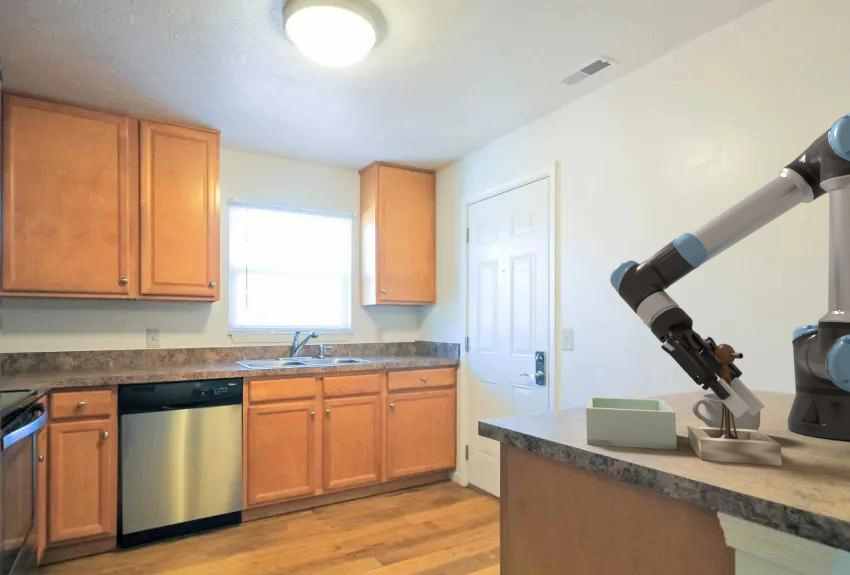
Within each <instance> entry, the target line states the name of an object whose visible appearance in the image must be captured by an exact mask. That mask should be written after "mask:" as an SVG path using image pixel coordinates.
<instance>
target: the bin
mask: <svg viewBox="0 0 850 575" xmlns="http://www.w3.org/2000/svg"><path fill="white" fill-rule="evenodd" d="M585 407H586V408H585V411H586V412H585V413H586V444H587V445H594V446H595V445H597V446H612V447H625V448H636V449H638V448H639V449H651V450H653V449H654V450H667V451H677V450H678V449H677V448H678V446H677V425H676V411H675V410H674V409H673V408H672V407H671V406H670V405H669V404H668V402H666V401H665V400H664V399H648V398H647V399H646V398H627V397H625V398H623V397H622V398H621V397H620V398H619V397H599V396H597V397H596V396H594V397H593V396H587V397H586V406H585Z"/></svg>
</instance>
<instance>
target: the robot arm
mask: <svg viewBox="0 0 850 575" xmlns="http://www.w3.org/2000/svg"><path fill="white" fill-rule="evenodd" d="M827 193H828V194H829V195H828V196H829V202H828V205H829V207H828V209H829V210H828V212H829V214H828V283H827V284H828V285H827V286H828V290H827V292H828V293H827V294H828V298H827V299H828V300H827V304H828V305H827V312H826V313H825V314H824V315H823V316H822V317H820V318H819V319H818V321H817V323H816V324H806V325H801V326H797V327H796V328H795V329H794V330H793V331H792V340H791V345H792V349H793V368H794V384H795V385H794V386H795V395H794V399H793V401H792V405H791V406H790V407H791V408H790V410H789V413H788V417H787V429H788V430H789V431H791V432H794V433H798V434H801V435H805V436H811V437H817V438H818V437H819V438H824V439H833V440H841V441H842V440H843V441H850V112H848V113H847V114H845V115H843V116H841V117H840V118H838V119H837V120H835V121H834V122H833V123H832V124H831V126H830V127H829V128H828V129H827V130H826V131H825V132H824V133H822V134H820V136H818V138H816V139H815V140H814V141H813V142H812V143H811V144H810V145H809V146H808V147H806V149H805V150H803V152H802V153H801V154H800V155H799V156H797V157H796V158H794V160H792V161H791V162H790V163H788V164H787V165H785V166H784V167H782V168H781V169H780V170H779V172H778V176H777V177H775V178H774V179H772V180H770V181H769V182H768V183H766V184H764V185H763V186H761V187H760V188H758V189H756V190H755V191H754V192H752V193H751V194H749V195H748V196H746V197H744V198H743V199H741V200H740V201H738V202H737V203H736V204H734V205H732V206H731V207H729V208H728V209H726V210H725V211H723V212H722V213H720V214H719V215H717V216H715V217H714V218H713V219H711V220H709V221H708V222H706V223H705V224H703V225H702V226H700V227H699V228H697V229H696V230H694V231H692V232H684V233H682V234H681V235H679V236H677V237H676V238H673V239H672V240H671V241H670V242H669V243H668V244H666V245H665V246H664V247H662V248H661V249H660V250H658V251H657V252H655V253H654V254H653V255H651V256H650V257H649V258H647V259H646V260H644V261H642V262H641V263H638V262H637V261H636V260H626V261H625V262H621V263H620V264H618V265H617V266H616V267H615V268H614V269H613V271H612V272H611V274H610V277H609V278H610V279H609V280H610V284H611V286H612V287H613V289H614V290H615V291H616V293H617V294H618V295H619V297H621V299H623V301H624V302H625V303H626V304H627V305H628V306H629V308H630V309H632V311H633V312H634V313H635V314H636V315H637V316H638V317H639V319H641V321H642V323H643V325H646V326H647V328H648V329H650V331H651V333H652V334H653V335H654V336H655V337H656V339H657V340H658V341H659V342H660V343H662V345H661V346H660V348H661V349H662V350H663V351H664V352H665V353H667V354H668V355H669V356H670V357H671V358H672V359H673V360H674V361H675V362H676V363H677V364H678V366H680V368H681V369H682V370H683V371H684V372H685V373H686V374H687V376H689V377H690V378H691V379H692V381H693V382H694V383H696V384H697V386H701V389H702V390H704V391H707V390H708V389H711V391H712V392H713V393H715V394H716V395H717V396H718V397H719V398H720V400H721V401H722V402H723V403H724V404H725V405H726V406H727V407H728V409H729V410H730V411H731V412H732V413H733V414H734V415H735V416H736V418H739V417H740V416H742V415H743V414H744V413H745V412H746V411H748V412H749V413H750V414H751V415H752V416H753V415H755V414H756V413H758V412H759V411H760V412H761V410H762V409H764V407H765V405H764V404H763V403H762V400H760V399H759V398H758V397H757V396H756V394H754V393H753V392H752V391H751V390H750V389H749V387H747V386H746V385H745V383H743V380H741V379H740V377H741V376H742V375H743V372H742V371H741V370H740V369H739V367H738V366H737V365H736V364H734V361H733V362H732V363H731V364H728V370H730V376H731V387H730V386H729V380H728V384H727V383H726V382H725V381H724V380H723V379H721V371H720V370H723V364H721V363H719V362H718V361H717V360H716V358H715V356H714V352H715V349H716V347H717V346H718V345H717V343H716V342H715V340H714V339H713V338H712V336H707V337H706V338H703V337H702V336H701V335H700V334H699V333H697V332H696V331H695V330H694V328H693V324H694V321H693V319H692V317H691V316H690V315H688V314H687V312H686V311H685V310H684V309H683V308H681V307H680V305H679V304H678V303H677V302H676V301H675V300H674V299H673V298H672V297H671V296H670V295H669V294H668V293H667V292H666V291H665V290H667V289H668V288H670V286H673V285H674V284H676V283H677V282H679V281H680V280H681V279H682V278H684V277H686V276H687V275H689V274H690V273H691V272H694V270H696V269H698V268H699V267H701V266H702V265H704V264H705V263H707V262H708V261H710V260H712V259H714V258H715V257H717V256H718V255H720V254H721V253H723V252H725V251H726V250H727V249H729V248H731V247H733V246H734V245H736V244H737V243H739V242H740V241H742V240H744V239H746V238H747V237H748V236H750V235H751V234H753V233H755V232H757V231H758V230H760V229H761V228H763V227H764V226H766V225H768V224H769V223H771V222H773V221H774V220H776V219H777V218H779V217H780V216H782V215H784V214H785V213H787V212H789V211H790V210H792V209H794V208H795V207H797V206H798V205H800V204H801V203H802V204H803V203H804V204H810V203H812V202H813V201H814V200H816V199H818V198H820V197H822V196H823V195H825V194H827Z"/></svg>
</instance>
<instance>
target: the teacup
mask: <svg viewBox="0 0 850 575" xmlns="http://www.w3.org/2000/svg"><path fill="white" fill-rule="evenodd" d="M701 404H702V405H703V406H702V407H703V409H702V410H703V411H702V412H703V415H702V414H701V413H700V411H699V406H701ZM691 411H692V413H693V414H694V416H695V417H697V418H698V419H699V420H700V421H702V422H704V424H705V425H706V427H714V428H721V418H722V401H721V400H720V398H719V397H718V396H717V395H716V394H715V393H714V392H713V393H705V394H702V398H697V399H695V400H694V401H693V402H692V405H691ZM733 417H734V422H735V428H736V429H750V430H759V429H760V424H761V410H760V411H759V412H758V413H756V414H755V415H753V416H752V415H751V414H750V413H749V412H748V411H746V412H745V413H744V414H743V415H742V416H740V417H739V418H736V416H735V415H734V414H733ZM723 428H725V408H724V421H723ZM730 428H732V429H733V423H732V418H731V411H730Z"/></svg>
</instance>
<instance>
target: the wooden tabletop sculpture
mask: <svg viewBox="0 0 850 575" xmlns="http://www.w3.org/2000/svg"><path fill="white" fill-rule="evenodd" d="M714 356H715V358H716V360H717V361H718V362H719V363H721V364H723V370H720V371H721V379H723V380H724V381H725V382H726V383H727V384H728V380H729V386H730V387H731V376H730V370H728V364H731V363H732V362H733V363H734V361H735V359H737V360H738V359H739V360H740V359H743V358H744V354H743V352H736V351H735V349H734V347H732V345H730V344H728V343H727V344H726V343H721V344H719V345H717V347H716V349H715V352H714ZM724 408H725V431H726V433H725V434H723V435H722V429H723V421H724ZM731 418H732V423H733V429H734V432H735V436H736V437H735V436H734V435H732V434H731V430H730V410H729V409H728V407H727V406H726V405H725V404H724V403H723V402H722V418H721V428H720V433H719V437H718V438H722V439H738V436H737V432H736V428H735V422H734V417H733V413H732V412H731Z"/></svg>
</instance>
